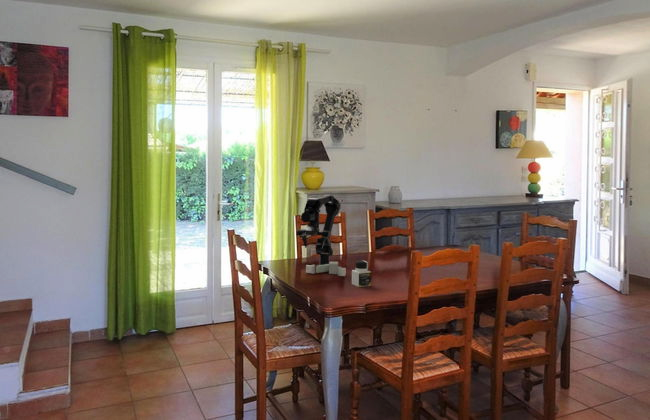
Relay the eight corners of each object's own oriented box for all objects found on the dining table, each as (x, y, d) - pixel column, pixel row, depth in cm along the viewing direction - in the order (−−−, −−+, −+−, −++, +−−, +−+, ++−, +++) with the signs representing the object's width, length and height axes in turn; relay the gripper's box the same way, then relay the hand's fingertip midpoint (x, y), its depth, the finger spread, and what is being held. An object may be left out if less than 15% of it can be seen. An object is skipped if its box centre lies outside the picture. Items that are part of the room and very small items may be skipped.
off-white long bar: (307, 272, 294) (307, 264, 293) (345, 275, 287) (345, 267, 286) (305, 272, 292) (305, 264, 291) (344, 276, 285) (344, 267, 285)
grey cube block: (329, 271, 296) (329, 261, 296) (338, 271, 296) (338, 261, 295) (328, 273, 290) (329, 263, 290) (337, 274, 290) (337, 263, 289)
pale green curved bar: (318, 273, 290) (318, 266, 290) (316, 272, 292) (316, 265, 291) (335, 270, 298) (335, 263, 297) (333, 269, 299) (333, 263, 299)
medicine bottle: (358, 287, 261) (359, 263, 260) (351, 284, 267) (351, 260, 266) (371, 285, 264) (371, 261, 263) (363, 282, 271) (364, 259, 270)
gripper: (293, 221, 293) (292, 249, 295) (325, 223, 288) (325, 251, 289) (300, 219, 304) (299, 246, 305) (331, 220, 298) (331, 248, 300)
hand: (313, 248), depth 300 cm, fingers open, 9 cm apart
